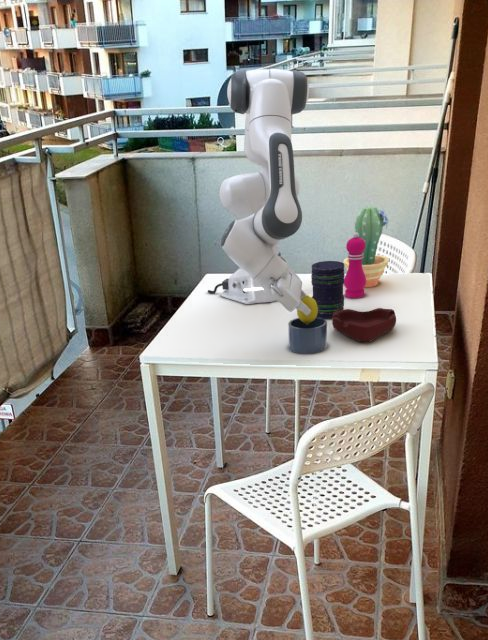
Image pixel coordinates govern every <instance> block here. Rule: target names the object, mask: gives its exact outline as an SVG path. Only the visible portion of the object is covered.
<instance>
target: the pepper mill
mask: <svg viewBox="0 0 488 640" xmlns="http://www.w3.org/2000/svg"><path fill="white" fill-rule="evenodd" d="M352 236H353V237H351V238H349V240H347V242H346V247H345V248H346V251H347V252H348V253H347V258H348V259H349V268H348V271H347V270H346V273H345V277H344V280H345V281H344V284H343V287H345V290H344V297H346V298H348V299H360V298H363V297H364V296H365V289H364V288H365V287H364V286H365V285H366V276H365V274H364V271H363V268H362V258H363V257H364V256H363V255H364V253H363V251H364V250H365V241H364V240H363V239H362V238H359V234H358V233H357V232H356V233H355V232H354V233H353V234H352Z"/></svg>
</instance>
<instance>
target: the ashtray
mask: <svg viewBox="0 0 488 640" xmlns="http://www.w3.org/2000/svg"><path fill="white" fill-rule="evenodd" d="M331 324H332V327H333V329H334V330H335V331H336V332H337V333H339V334H343V335H345V336H347V337H349V338H351V339H353V340H354V341H355V340H356V341H358V342H359V343H362V344H367V343H370V342H371V341H373V340H375V339H377V338H379V337H380V336H383V334H385V333H388V332H390V331H392V330H393V329H394V328H395V327H396V325H397V316H396V312H395V310H394V309H392V308H382V307H377V308H374V309H371V310H367V311H359V310H355V309H351V308H344V309H343V310H340V311H335V312H334V313H333V317H332V319H331Z"/></svg>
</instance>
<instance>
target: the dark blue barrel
mask: <svg viewBox="0 0 488 640" xmlns="http://www.w3.org/2000/svg"><path fill="white" fill-rule="evenodd" d="M345 275H346V273H345V267H344V263H343V261H337V260H325V261H318V262H315V263H313V264H312V265H311V275H310V276H311V277H310V279H311V283H310V284H311V286H312V296H311V297H312V298H313V299H314V300H315V301H316V303H317V307H318V313H317V317H320V318H323V319H325V320H332V317H333V313H334V312H335V311H340V310H345V307H344V306H345V294H344V281H345V280H344V278H345Z"/></svg>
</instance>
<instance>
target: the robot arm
mask: <svg viewBox="0 0 488 640" xmlns="http://www.w3.org/2000/svg"><path fill="white" fill-rule="evenodd" d="M226 88H227V90H226V96H227V100H228V103H229V106H230V109H231V110H232V111H233V112H234V113H236V114H239V115H245V118H244V119H245V121H244V138H243V140H244V142H243V152H244V155H245V157H246V158H247V159H248V160H249V161H250V162H251V163H253V164H254V165H257V166H260V170H259V171H256V172H249V173H241V174H236V175H233V176H230V177H228V178H225V179H224V180H223V181H222V183H221V185H220V188H219V192H218V193H219V195H218V196H219V201H220V203H221V205H222V207H223V208H224V209H225V210H226V211H227V212H229V213H230V214H231V215H233V217H235V218H236V219H234V220H232V221H231V223H230V224H229V225H228V226H227V228H226V229H225V231H224V233H223V235H222V237H221V242H220V246H221V248H222V250H223V252H224V253H225V254H226V255H227V257H229V259H231V261H232V262H233V263H234V264H235V265H236V266H237V267H239V268H238V269H237V270H236V271H235V272H233V273H231V275H230V276H229V278H226V279H224V280H223V281H221V282H220V283H217V284H216V285H215V286H214V289H213V290H210V289H208V290H207V293H208V294H215V293H216V292H217V290H218V288H220V287H222V290H224V291H222V292H221V297H222V298H225V299H228V300H231V301H234V302H235V301H236V302H238V303H242V304H244V305H245V304H246V305H254V304H262V303H263V304H264V303H273V302H276V301H277V302H278V303H279V304H280V305H281V306H282V307H284V309H285V310H286V311H288V312H290V313H292V312H294V310H297V309H298V310H300V311H302V312H303V313H304V314H305V315H308V314H309V313H310V312H311V308H309V306H306V305H305V304H304V303H303V302H302V301H301V299H302V298H303V297H305V296H307V294H306V292H305V291H304V290H303V289H302V288H303V281H302V279H301V278H300V276H299V275H298V274H297V273H296V272H295V271H294V270H293V269H292V268H291V266H289V264H288V263H287V259H285V258H284V257H283V256H282V253H281V252H280V243H282V241H284V240H285V239H287V238H289V237H291V236H293V235H294V234H296V233H297V232H298V231H299V229H300V228H301V226H302V221H303V210H302V207H301V204H300V202H299V199H298V196H299V193H300V181H299V178H298V176H297V175H296V173H295V162H294V161H295V159H294V158H295V157H294V149H293V143H292V115H296V114H300V113H302V112H303V111H304V110H305V108H306V105H307V103H308V101H309V98H310V97H309V96H310V85H309V81H308V77H307V75H306V74H305V72H303V71H300V70H296V69H293V70H289V69H284V68H283V69H282V68H262V69H261V68H260V69H249V70H246V69H240V70H236V71H234V72H233V73H232V74H231V76H230V79H229V81H228V83H227V87H226Z"/></svg>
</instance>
